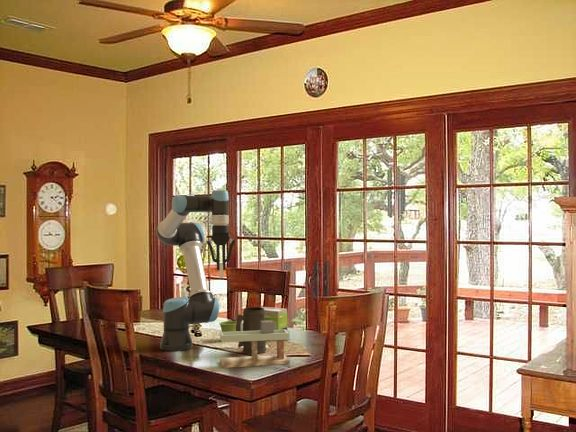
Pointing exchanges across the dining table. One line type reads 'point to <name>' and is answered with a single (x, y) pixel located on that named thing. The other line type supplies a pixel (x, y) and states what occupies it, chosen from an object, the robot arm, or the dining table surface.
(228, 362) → the beam stand
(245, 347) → the beer stein
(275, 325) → the tea box
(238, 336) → the beam
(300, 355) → the dining table surface
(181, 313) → the robot arm
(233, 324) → the plant pot
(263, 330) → the block
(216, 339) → the dining table surface
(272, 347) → the dining table surface
